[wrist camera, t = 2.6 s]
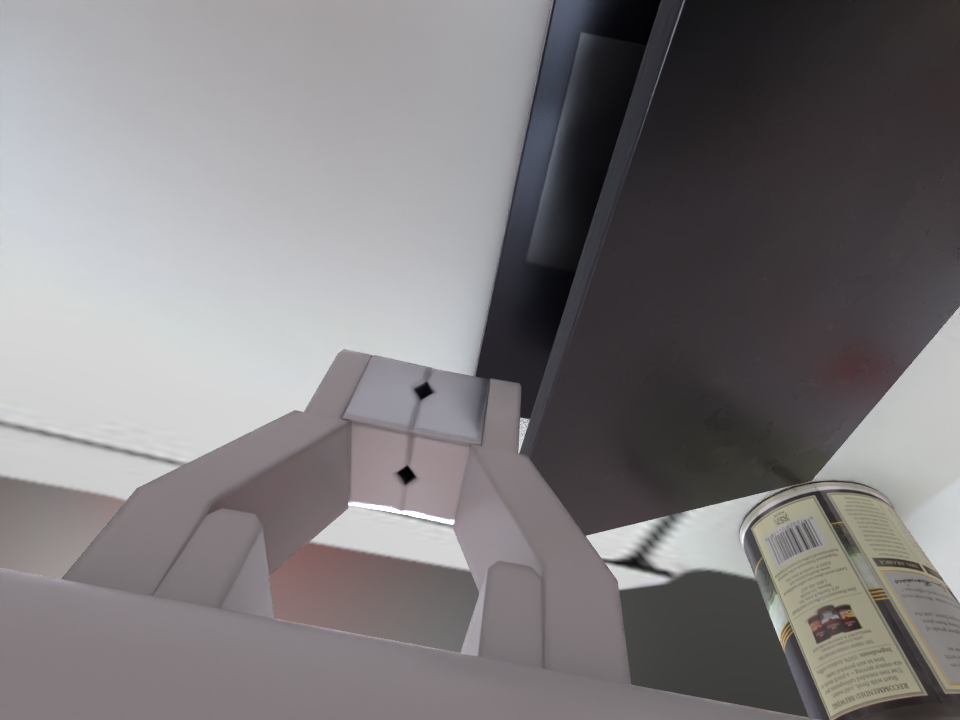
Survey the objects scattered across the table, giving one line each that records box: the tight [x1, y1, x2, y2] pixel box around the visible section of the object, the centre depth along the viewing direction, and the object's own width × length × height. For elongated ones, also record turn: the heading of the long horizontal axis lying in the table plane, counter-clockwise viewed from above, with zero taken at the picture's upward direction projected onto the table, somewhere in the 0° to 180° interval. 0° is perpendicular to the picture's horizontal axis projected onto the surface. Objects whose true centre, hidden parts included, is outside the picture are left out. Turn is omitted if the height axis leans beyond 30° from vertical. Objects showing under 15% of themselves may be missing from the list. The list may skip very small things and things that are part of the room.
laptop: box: [474, 0, 661, 419], centre depth 23 cm, size 21×30×2 cm
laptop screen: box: [519, 0, 960, 536], centre depth 19 cm, size 21×30×1 cm
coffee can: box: [740, 482, 960, 720], centre depth 31 cm, size 10×10×14 cm
